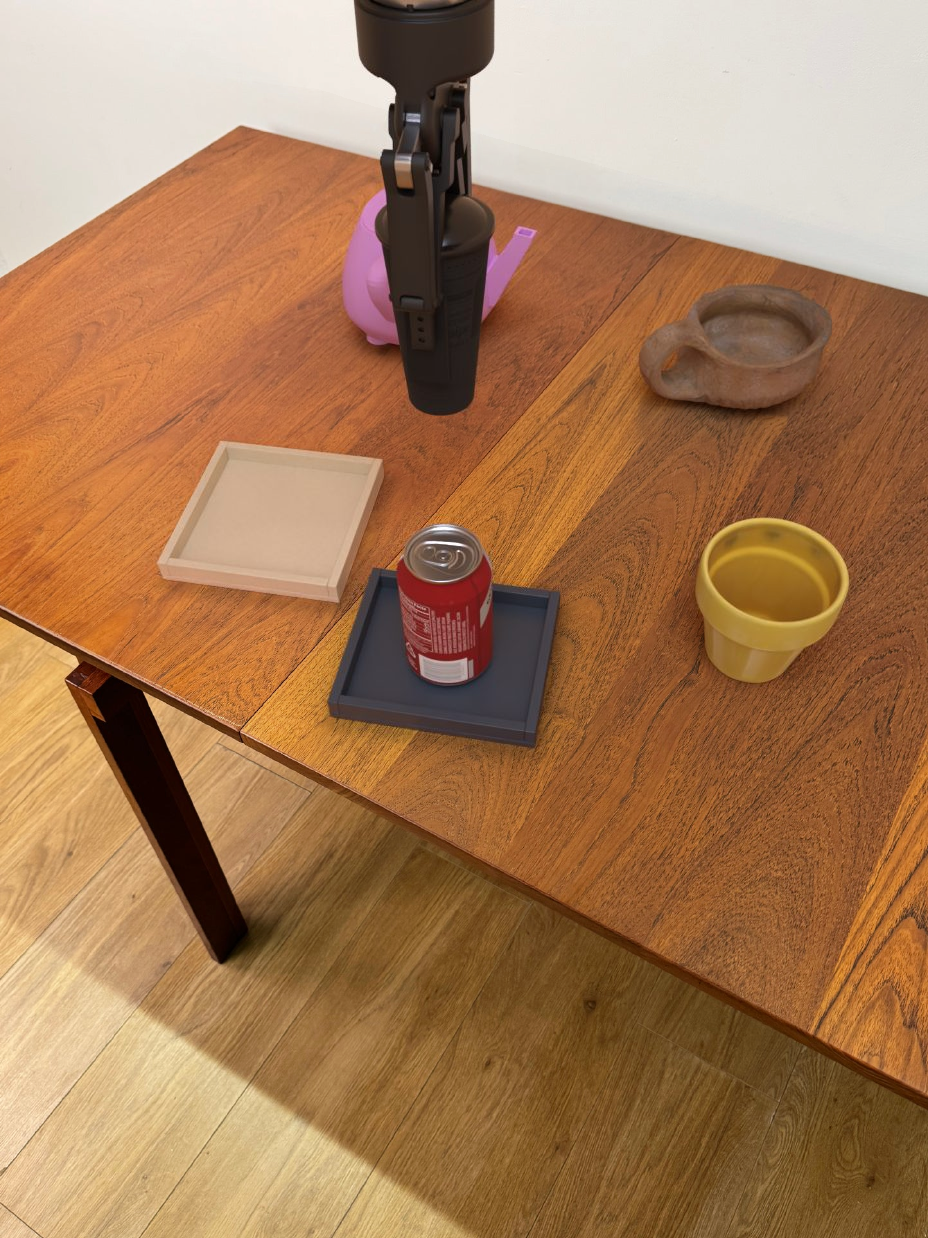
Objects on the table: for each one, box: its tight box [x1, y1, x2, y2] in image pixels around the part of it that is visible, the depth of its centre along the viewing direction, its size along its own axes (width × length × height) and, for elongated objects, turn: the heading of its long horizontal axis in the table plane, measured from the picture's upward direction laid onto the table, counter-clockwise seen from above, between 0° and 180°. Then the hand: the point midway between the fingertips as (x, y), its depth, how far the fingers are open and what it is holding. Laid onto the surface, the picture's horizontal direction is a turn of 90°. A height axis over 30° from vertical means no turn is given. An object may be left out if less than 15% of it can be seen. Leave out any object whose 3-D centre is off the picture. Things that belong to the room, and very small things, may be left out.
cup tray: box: [156, 440, 385, 604], centre depth 88 cm, size 16×16×2 cm
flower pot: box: [694, 517, 850, 684], centre depth 75 cm, size 10×10×10 cm
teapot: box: [341, 187, 538, 346], centre depth 100 cm, size 20×20×15 cm
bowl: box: [638, 283, 833, 410], centre depth 95 cm, size 18×14×10 cm
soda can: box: [396, 523, 493, 686], centre depth 73 cm, size 7×7×12 cm
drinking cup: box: [374, 170, 496, 417], centre depth 66 cm, size 8×8×20 cm
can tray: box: [327, 567, 561, 749], centre depth 78 cm, size 16×14×2 cm
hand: (439, 350), depth 70 cm, fingers closed on drinking cup, 6 cm apart
